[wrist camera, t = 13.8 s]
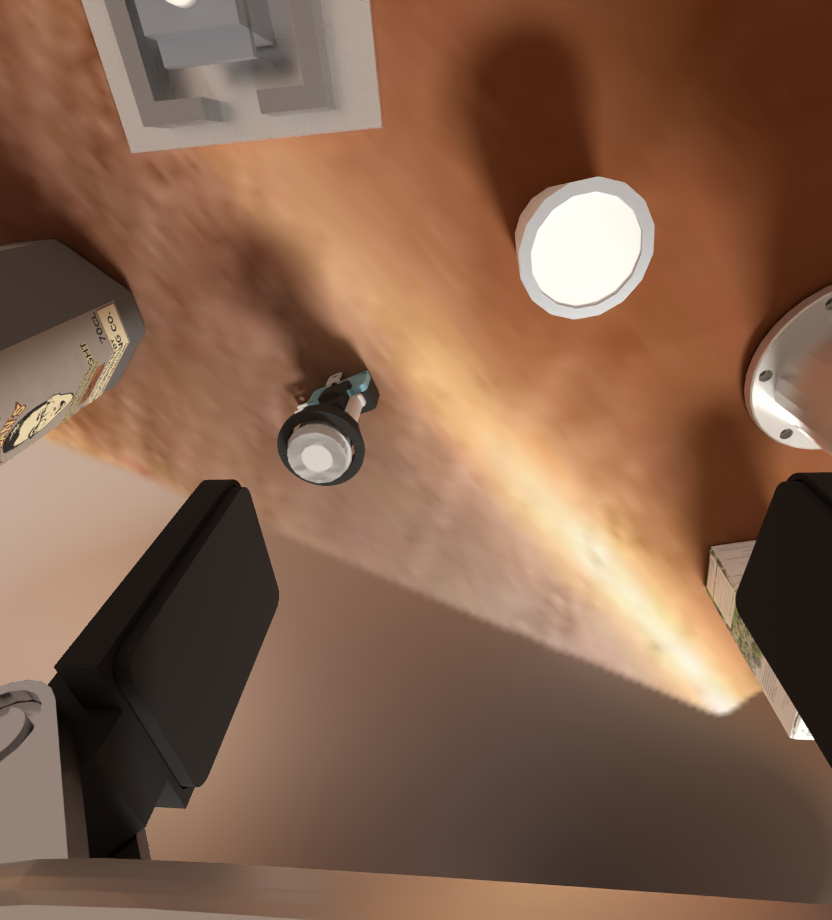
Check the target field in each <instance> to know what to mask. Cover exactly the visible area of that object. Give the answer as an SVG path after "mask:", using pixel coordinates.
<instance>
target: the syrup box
mask: <svg viewBox="0 0 832 920" xmlns="http://www.w3.org/2000/svg"><path fill="white" fill-rule="evenodd" d="M755 542H756V540H752V541H745V542H737V543H731V544H724V545H717V546H711V547H710V553H709V564H708V573H707V583H706V591H707V593H708V595H709V596H710V598H711V600H712V602H713V603H714V605H715V607H716V609H717V610H718V612H719V614H720V616H721V617H722V619H723V621H724V623H725V624H726V626H727V628H728V630H729V632H730V633H731V635H732V637H733V639H734V640H735V642H736V644H737V646H738V648H739V649H740V651H741V653H742V655H743V656H744V658H745V660H746V662H747V663H748V665H749V667H750V669H751V671H752V672H753V674H754V676H755V677H756V679H757V681H758V683H759V684H760V686H761V688H762V690H763V691H764V693H765V695H766V697H767V698H768V700H769V702H770V703H771V705H772V707H773V709H774V711H775V712H776V714H777V716H778V718H779V719H780V721H781V723H782V725H783V726H784V728H785V730H786V732H787V734H788V735H789V737H790V738H793V739H804V740H814V738H813V736H812V735H811V733H810V732H809V730H808V728H807V727H806V725H805V723H804V722H803V720H802V718H801V717H800V715H799V713H798V712H797V710H796V708H795V707H794V705H793V703H792V702H791V700H790V698H789V697H788V695H787V694H786V692H785V690H784V689H783V687H782V685H781V684H780V682H779V680H778V679H777V677H776V675H775V674H774V672H773V670H772V669H771V667H770V665H769V664H768V662H767V660H766V659H765V657H764V656H763V654H762V652H761V651H760V649H759V647H758V646H757V644H756V642H755V641H754V639H753V637H752V636H751V634H750V632H749V631H748V629H747V627H746V626H745V624H744V623H743V621H742V619H741V618H740V616H739V614H738V612H737V608H736V603H735V596H736V592H737V589H738V587H739V584H740V581H741V579H742V576H743V574H744V571H745V568H746V566H747V563H748V561H749V558H750V555H751V553H752V550H753V548H754V545H755Z"/></svg>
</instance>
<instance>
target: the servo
mask: <svg viewBox="0 0 832 920" xmlns="http://www.w3.org/2000/svg"><path fill="white" fill-rule="evenodd" d="M134 1H135V4H136V8H137V11H138V15H139V18H140V22H141V25H142V28H143V32H144V35H145V36H146V37H148V38H151V39H154V40H156V41H157V43H158V46H159V50H160V53H161V57H162V60H163V64H164V67H165V68H166V69H170V70H173V69H181V68H188V67H196V66H204V65H212V64H220V63H228V62H236V61H243V60H251V59H258V56H257V51H256V49H258V48H266V47H273V46H276V42H275V36H274V31H273V26H272V20H271V15H270V9H269V4H268V0H134Z"/></svg>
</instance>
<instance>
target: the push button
mask: <svg viewBox="0 0 832 920" xmlns="http://www.w3.org/2000/svg"><path fill="white" fill-rule="evenodd" d="M341 375H342V372H340V373H337V374H334V375H332V376H330V377H329V379H328V381H327V383H326V386H325V387H322V388H320V389H317V390H315V391H314V392H313V394H312V395H311V397H310V399H309V400H308V402H307V403H305V404H302V405H299V406H298V407H297V408H298V410H297V411H295V412H294V413H295V414H294V415H292V416H291V417H290V418H288V419H287V421H286V422H285V423H284V425H283V426H282V428H281V430H280V432H279V435H278V439H277V447H278V452H279V455H280V458H281V460H282V461H283V463H284V465H285V466H286V467H287V468H288V469H289V470H290V471H291V472H292V473H293V474H294V475H295V476H297V477H298V478H300V479H302V480H304V481H306V482H309V483H311V484H315V485H322V486H331V485H337V484H341V483H343V482H346V481H348V480H349V479H351V478H352V477H353V476H354V475H355V474H356V473H357V472H358V471H359V469H360V468H361V466H362V463H363V459H364V455H365V446H364V441H363V438H362V436H361V433H360V429H359V425H358V423H357V422H358V419H359V416H360V414H362V413H365V412H368V411H371V410H373V409H375V408H376V406H377V402H378V398H379V393H378V390H377V388H376V386H375V384H374V382H373V380H372V378H371V376H370V374H369V372H368V370H366V371H363V372H361V373H359V374H356V375H354V376H351V377H349V378H346V379H343V380H341V381H340V378H341ZM335 376H337V377H335ZM333 377H335V378H333ZM303 407H305V408H303ZM300 423H301V425H300V426H299V428H298V429H297V430H296V431H294V432H293V430H294V428H295V427H296V426H297V425H299V424H300ZM352 444H353V446H354V451H355V453H354V455H353V456H352V454H351V447H352Z"/></svg>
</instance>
